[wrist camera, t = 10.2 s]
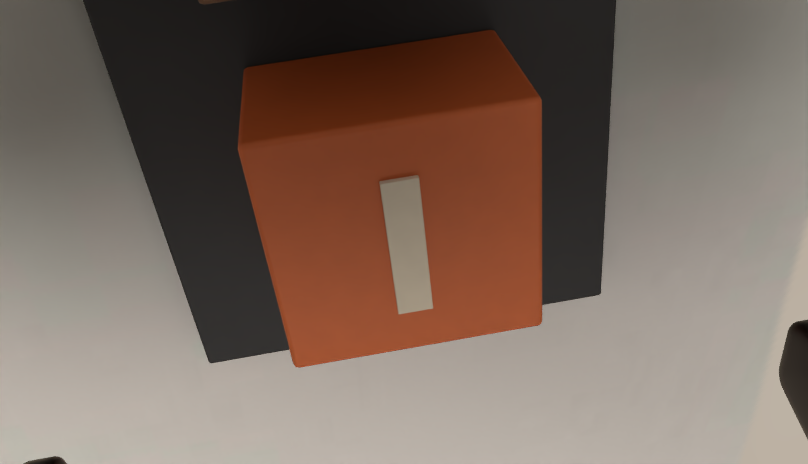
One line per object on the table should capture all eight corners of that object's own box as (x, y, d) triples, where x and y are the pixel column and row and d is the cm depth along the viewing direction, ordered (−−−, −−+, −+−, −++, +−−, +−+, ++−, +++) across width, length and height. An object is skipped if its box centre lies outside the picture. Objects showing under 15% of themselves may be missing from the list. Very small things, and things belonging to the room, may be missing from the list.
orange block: (502, 233, 16) (545, 330, 14) (290, 269, 16) (294, 374, 13) (495, 26, 14) (545, 99, 11) (242, 66, 13) (235, 149, 11)
